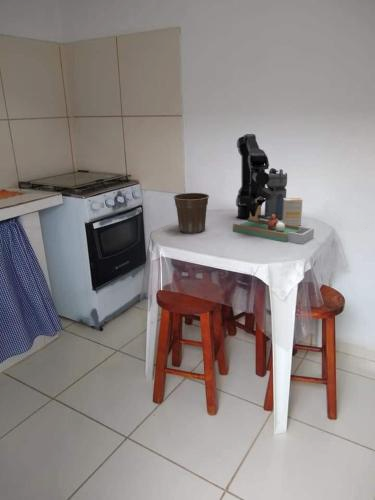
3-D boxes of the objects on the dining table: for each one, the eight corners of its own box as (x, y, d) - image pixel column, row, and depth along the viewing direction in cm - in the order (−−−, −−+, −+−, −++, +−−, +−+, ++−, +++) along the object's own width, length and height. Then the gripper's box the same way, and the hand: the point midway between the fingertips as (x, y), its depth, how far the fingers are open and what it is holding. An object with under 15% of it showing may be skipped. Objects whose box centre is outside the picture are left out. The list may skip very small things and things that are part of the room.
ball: (273, 231, 173) (274, 222, 171) (278, 229, 176) (278, 220, 174) (282, 232, 170) (282, 224, 169) (286, 230, 173) (286, 222, 172)
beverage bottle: (277, 213, 210) (280, 165, 201) (288, 219, 197) (292, 169, 189) (259, 214, 208) (261, 166, 199) (269, 221, 196) (272, 170, 187)
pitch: (232, 231, 181) (233, 223, 179) (249, 224, 191) (249, 216, 189) (300, 245, 161) (301, 235, 159) (314, 236, 171) (315, 227, 169)
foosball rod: (248, 225, 180) (248, 205, 177) (253, 223, 183) (254, 203, 180) (272, 230, 172) (273, 209, 169) (277, 227, 176) (278, 206, 173)
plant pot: (173, 225, 192) (172, 193, 186) (206, 224, 193) (206, 191, 188) (175, 235, 177) (174, 200, 171) (211, 234, 178) (211, 198, 172)
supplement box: (299, 224, 189) (301, 197, 185) (300, 227, 185) (302, 199, 181) (281, 224, 190) (283, 197, 186) (282, 227, 186) (284, 199, 181)
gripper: (261, 186, 162) (260, 223, 167) (283, 180, 175) (281, 214, 181) (238, 183, 169) (238, 219, 174) (261, 177, 182) (259, 210, 188)
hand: (255, 215), depth 179 cm, fingers closed on foosball rod, 3 cm apart
